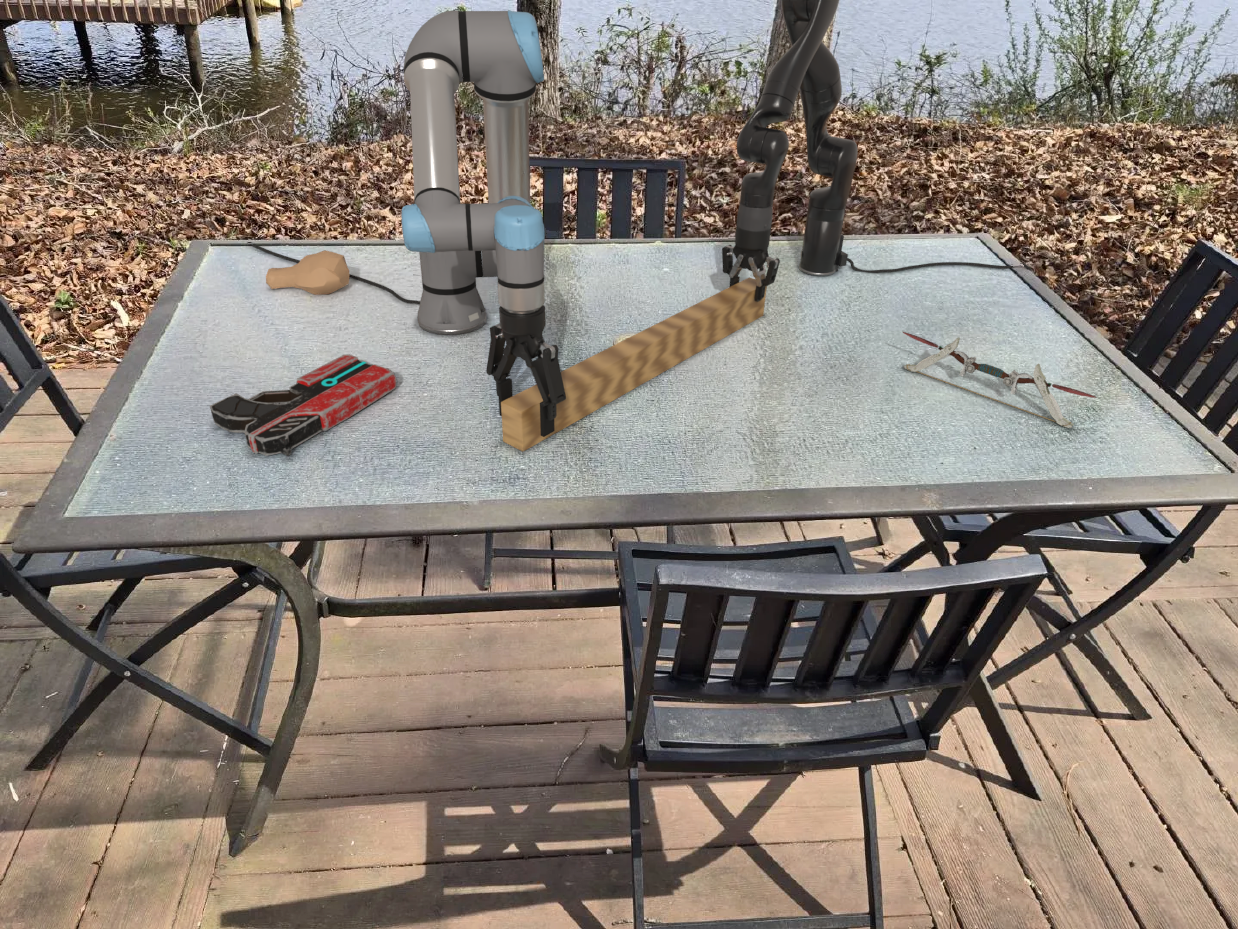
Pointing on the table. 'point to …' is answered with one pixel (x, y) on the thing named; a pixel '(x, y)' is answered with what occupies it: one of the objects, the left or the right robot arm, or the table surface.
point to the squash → (312, 274)
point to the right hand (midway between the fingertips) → (746, 296)
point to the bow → (1009, 379)
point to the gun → (304, 405)
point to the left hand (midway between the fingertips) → (526, 423)
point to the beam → (632, 362)
